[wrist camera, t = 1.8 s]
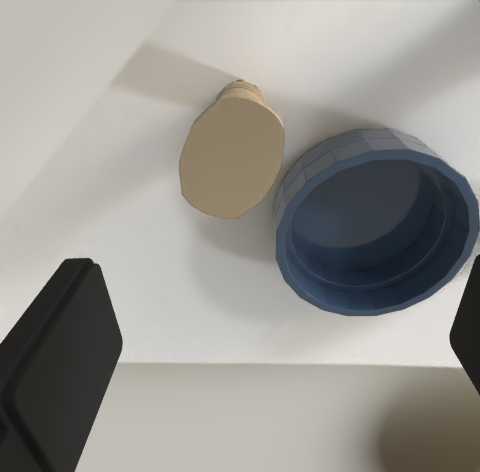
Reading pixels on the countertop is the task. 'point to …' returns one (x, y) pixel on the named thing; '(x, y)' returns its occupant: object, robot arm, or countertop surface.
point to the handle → (232, 153)
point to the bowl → (372, 223)
